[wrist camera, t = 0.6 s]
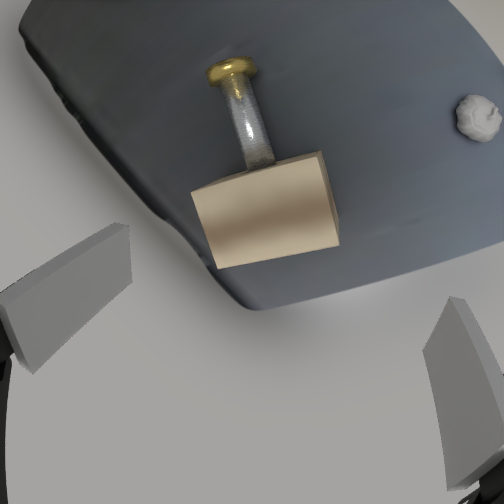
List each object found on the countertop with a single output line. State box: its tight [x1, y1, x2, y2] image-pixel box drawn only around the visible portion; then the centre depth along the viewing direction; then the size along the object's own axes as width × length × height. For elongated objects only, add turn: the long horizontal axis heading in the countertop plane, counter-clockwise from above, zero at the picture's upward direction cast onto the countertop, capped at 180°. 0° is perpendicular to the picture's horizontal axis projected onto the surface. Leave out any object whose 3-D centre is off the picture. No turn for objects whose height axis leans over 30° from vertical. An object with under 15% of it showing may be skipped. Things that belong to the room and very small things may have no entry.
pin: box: [206, 56, 277, 172], centre depth 29 cm, size 14×5×5 cm, turn 18°
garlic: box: [456, 95, 502, 142], centre depth 23 cm, size 6×5×5 cm
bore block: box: [191, 150, 339, 269], centre depth 31 cm, size 8×12×9 cm, turn 108°
